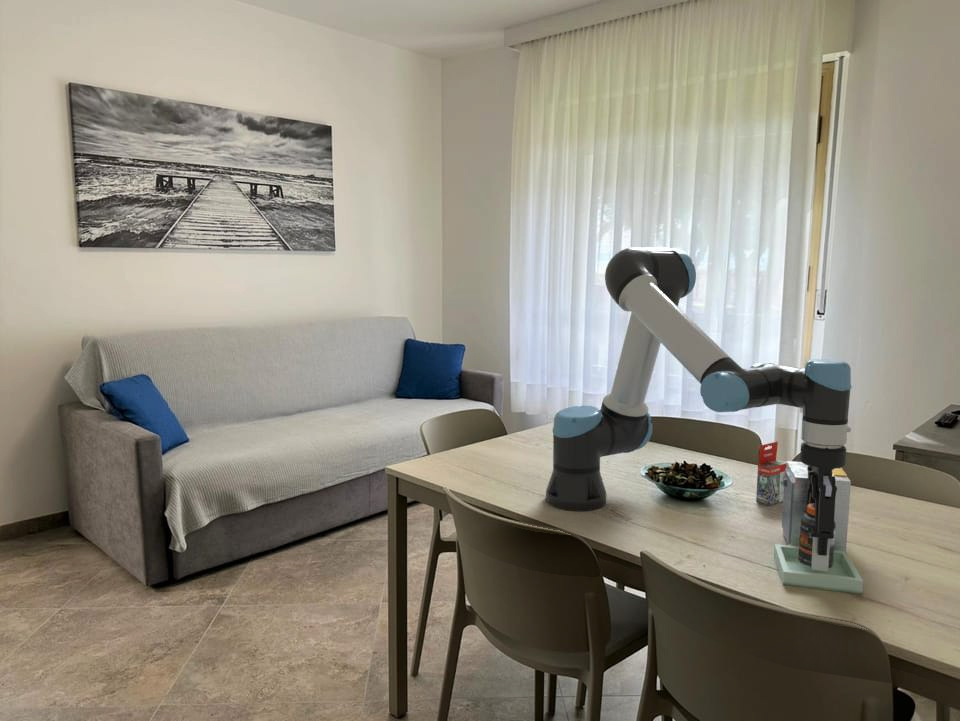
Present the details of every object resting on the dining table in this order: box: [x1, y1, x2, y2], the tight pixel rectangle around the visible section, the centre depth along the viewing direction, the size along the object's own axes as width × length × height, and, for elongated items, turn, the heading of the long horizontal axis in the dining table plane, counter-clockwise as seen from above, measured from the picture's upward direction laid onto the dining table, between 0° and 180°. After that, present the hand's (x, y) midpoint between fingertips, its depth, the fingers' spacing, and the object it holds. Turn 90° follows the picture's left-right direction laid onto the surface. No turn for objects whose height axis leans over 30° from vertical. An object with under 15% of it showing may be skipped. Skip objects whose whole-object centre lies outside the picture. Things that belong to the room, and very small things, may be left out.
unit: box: [781, 460, 852, 552], centre depth 139 cm, size 11×12×16 cm
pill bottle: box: [798, 503, 836, 569], centre depth 125 cm, size 6×6×11 cm
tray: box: [773, 543, 864, 595], centre depth 126 cm, size 13×13×2 cm
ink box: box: [755, 441, 787, 507], centre depth 165 cm, size 4×8×15 cm, turn 123°
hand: (816, 562), depth 126 cm, fingers closed on pill bottle, 6 cm apart
